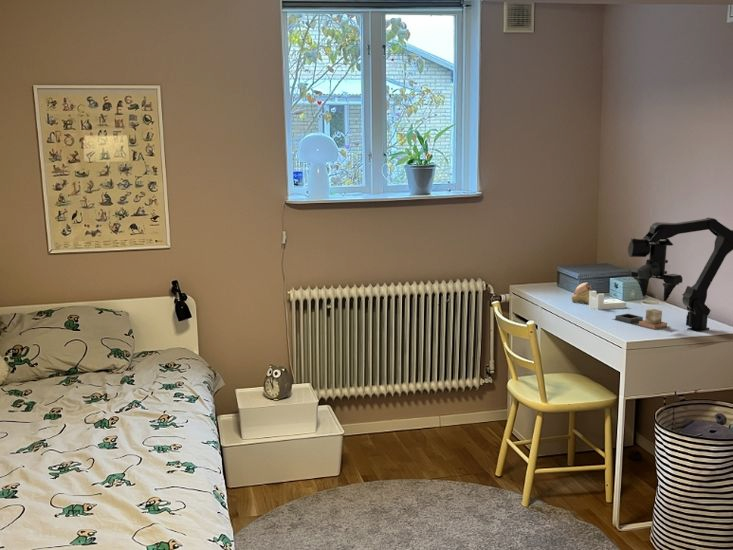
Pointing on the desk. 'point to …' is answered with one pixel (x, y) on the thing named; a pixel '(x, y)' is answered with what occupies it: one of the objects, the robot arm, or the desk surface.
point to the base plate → (639, 321)
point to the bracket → (604, 302)
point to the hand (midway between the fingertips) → (654, 298)
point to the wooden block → (653, 316)
